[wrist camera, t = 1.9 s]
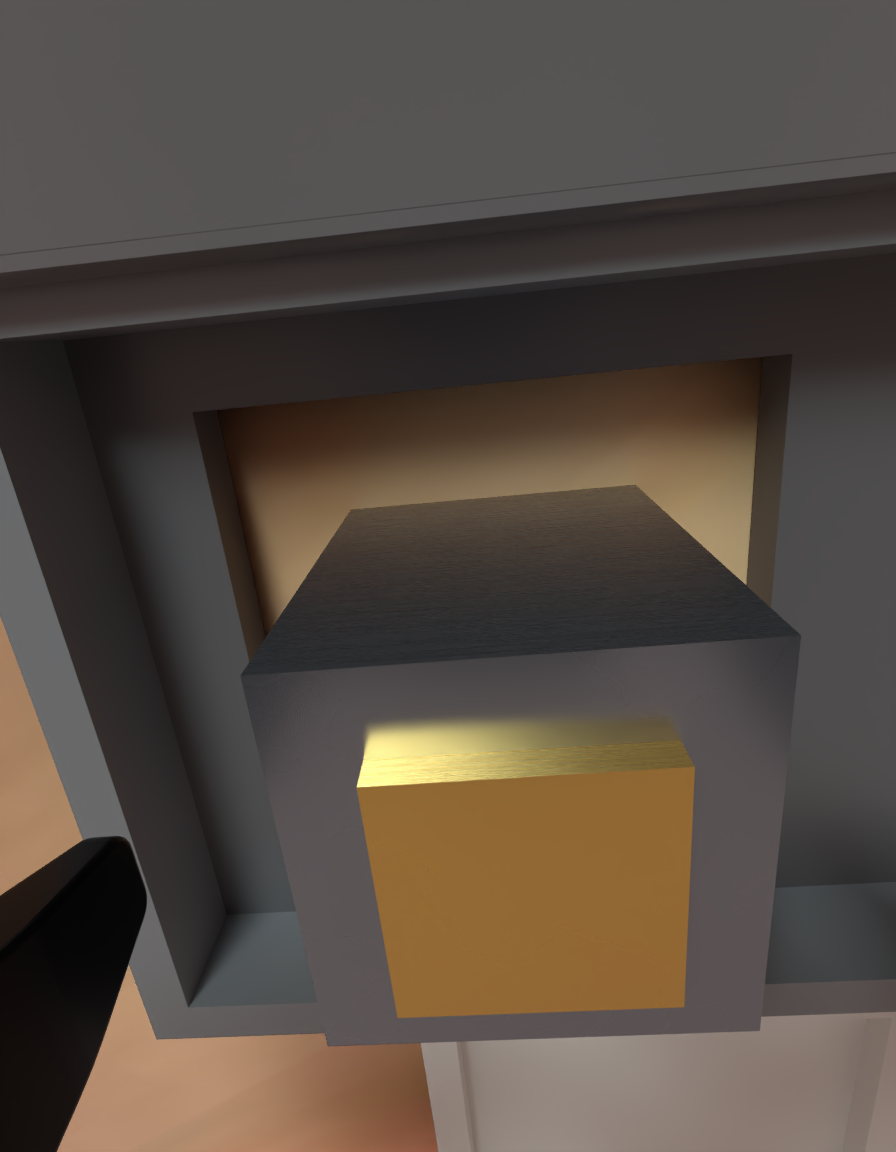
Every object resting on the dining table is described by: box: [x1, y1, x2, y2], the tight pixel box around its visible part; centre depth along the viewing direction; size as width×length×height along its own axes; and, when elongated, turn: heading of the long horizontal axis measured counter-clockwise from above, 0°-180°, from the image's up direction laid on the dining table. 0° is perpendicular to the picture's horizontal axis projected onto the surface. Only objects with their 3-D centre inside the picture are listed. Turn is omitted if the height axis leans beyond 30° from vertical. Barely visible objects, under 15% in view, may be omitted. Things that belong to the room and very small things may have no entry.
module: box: [240, 485, 801, 1046], centre depth 9 cm, size 5×5×6 cm
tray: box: [421, 1012, 896, 1152], centre depth 16 cm, size 11×11×1 cm
